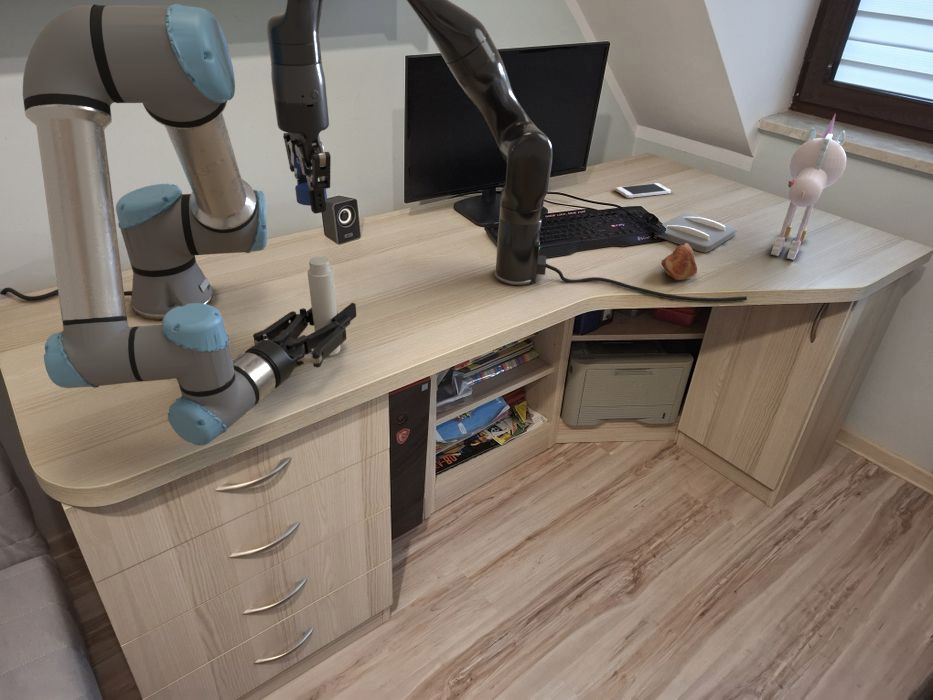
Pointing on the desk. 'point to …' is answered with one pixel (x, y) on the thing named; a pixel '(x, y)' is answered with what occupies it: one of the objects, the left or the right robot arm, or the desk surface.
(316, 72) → the right robot arm
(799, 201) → the toy
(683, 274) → the brown lumpy piece
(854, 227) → the desk surface
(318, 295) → the bottle
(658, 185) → the smartphone
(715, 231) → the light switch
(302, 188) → the lid
